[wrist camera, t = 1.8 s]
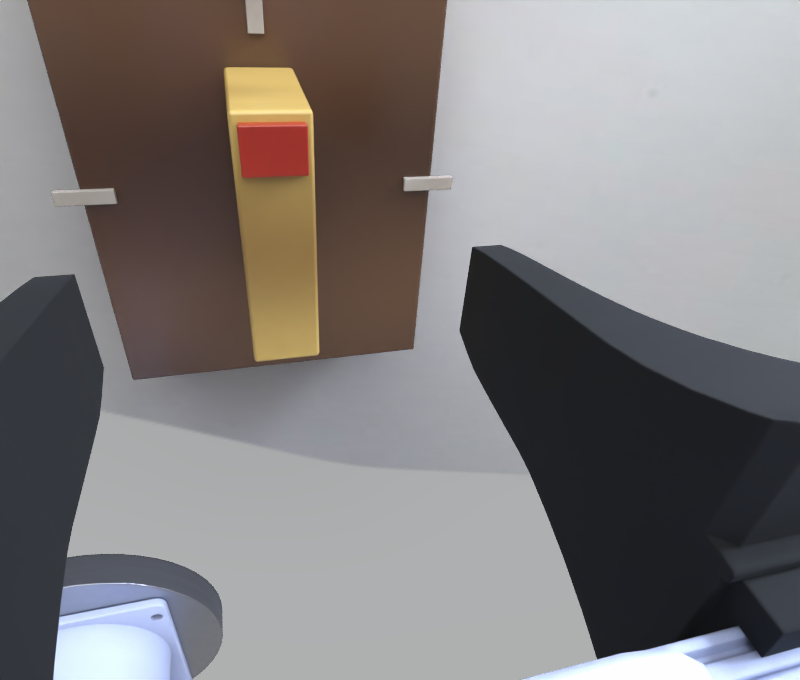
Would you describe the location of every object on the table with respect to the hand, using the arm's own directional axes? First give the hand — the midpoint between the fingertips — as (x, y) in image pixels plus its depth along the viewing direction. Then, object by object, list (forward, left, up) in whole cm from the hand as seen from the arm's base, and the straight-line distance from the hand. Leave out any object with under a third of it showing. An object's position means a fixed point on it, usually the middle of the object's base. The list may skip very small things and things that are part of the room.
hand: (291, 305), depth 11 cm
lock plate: (0, 0, -9) cm, 9 cm away
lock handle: (0, 0, -6) cm, 6 cm away
